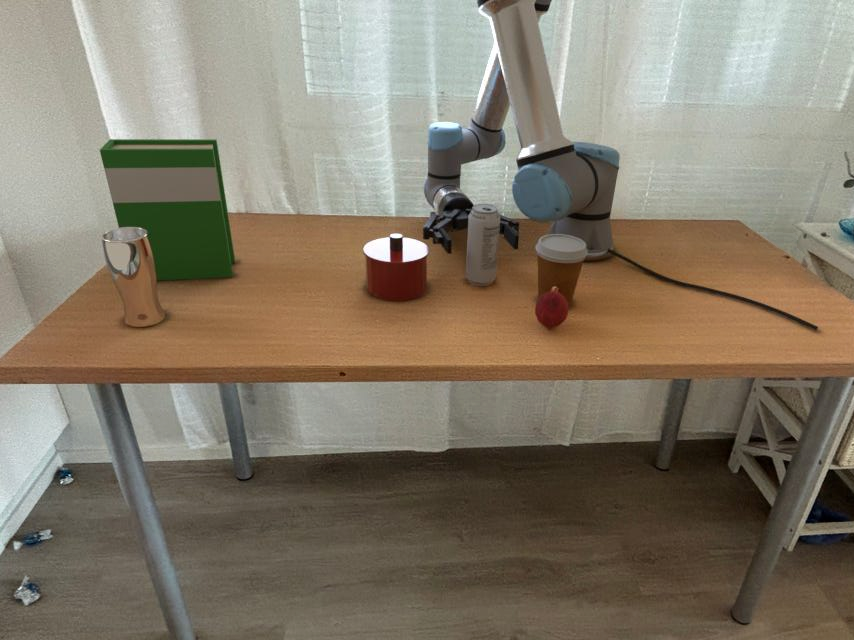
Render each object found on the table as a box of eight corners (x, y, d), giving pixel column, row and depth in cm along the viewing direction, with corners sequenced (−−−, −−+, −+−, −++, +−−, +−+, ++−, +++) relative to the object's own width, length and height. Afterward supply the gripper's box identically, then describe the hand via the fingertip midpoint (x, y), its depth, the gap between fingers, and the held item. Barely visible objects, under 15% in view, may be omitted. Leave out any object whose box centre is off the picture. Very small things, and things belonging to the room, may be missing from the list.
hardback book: (235, 261, 130) (216, 139, 117) (232, 277, 124) (212, 149, 111) (139, 265, 126) (109, 139, 113) (132, 281, 120) (99, 150, 107)
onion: (564, 338, 111) (570, 297, 106) (530, 333, 112) (535, 292, 107) (567, 323, 116) (572, 282, 111) (535, 318, 116) (540, 278, 112)
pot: (419, 273, 130) (419, 238, 126) (432, 298, 121) (433, 261, 117) (362, 277, 127) (361, 242, 123) (372, 303, 118) (370, 265, 114)
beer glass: (139, 333, 104) (116, 245, 96) (113, 320, 107) (89, 234, 99) (176, 317, 109) (158, 233, 102) (151, 305, 112) (131, 223, 104)
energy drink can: (480, 272, 132) (485, 200, 124) (501, 282, 129) (507, 209, 121) (459, 279, 129) (462, 206, 121) (480, 290, 125) (485, 215, 117)
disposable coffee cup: (546, 317, 117) (554, 255, 111) (520, 295, 124) (526, 236, 118) (589, 308, 121) (599, 248, 115) (561, 288, 128) (569, 230, 122)
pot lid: (420, 240, 127) (421, 222, 125) (436, 265, 117) (436, 246, 115) (358, 244, 123) (357, 225, 122) (369, 270, 114) (368, 250, 112)
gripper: (506, 222, 146) (541, 258, 129) (398, 228, 139) (420, 267, 122) (509, 189, 143) (545, 222, 125) (398, 193, 135) (420, 229, 118)
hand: (483, 245), depth 124 cm, fingers open, 13 cm apart
